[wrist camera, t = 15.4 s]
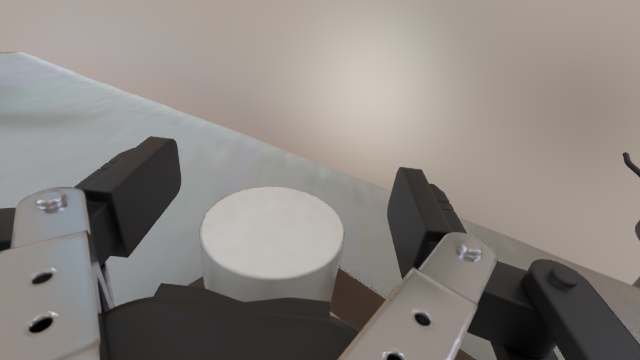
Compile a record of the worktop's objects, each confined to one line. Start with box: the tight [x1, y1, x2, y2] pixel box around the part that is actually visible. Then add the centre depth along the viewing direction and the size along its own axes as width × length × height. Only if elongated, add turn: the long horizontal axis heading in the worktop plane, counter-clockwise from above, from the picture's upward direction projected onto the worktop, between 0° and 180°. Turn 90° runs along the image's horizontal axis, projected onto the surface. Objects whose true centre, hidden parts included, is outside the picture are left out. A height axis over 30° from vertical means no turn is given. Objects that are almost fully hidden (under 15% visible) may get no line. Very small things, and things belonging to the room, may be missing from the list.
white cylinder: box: [199, 187, 344, 306], centre depth 12 cm, size 4×4×10 cm
